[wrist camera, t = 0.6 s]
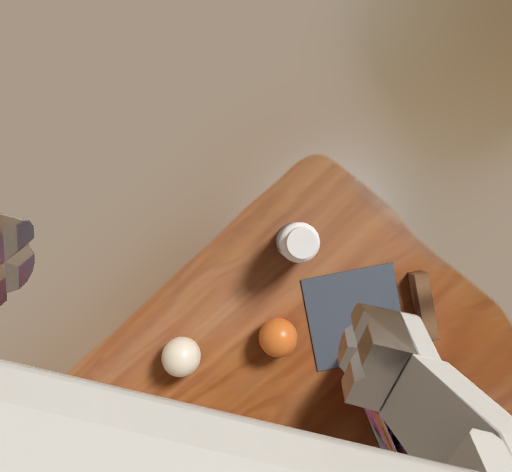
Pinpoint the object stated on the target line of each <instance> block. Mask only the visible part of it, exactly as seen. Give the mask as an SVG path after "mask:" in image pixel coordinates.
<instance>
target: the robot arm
mask: <svg viewBox="0 0 512 472" xmlns="http://www.w3.org/2000/svg"><path fill="white" fill-rule="evenodd" d="M33 238H34V228H33V225H32V223H31V222H30V221H29V220H25V219H21V218H18V217H13V216H10V215H7V214H3V213H0V306H1V305H2V304H3V303H4V302H5V301H6V300H7V293H8V292H12V291H15V290H18V289H20V288H21V287H22V286H23V285H24V284H25V283H26V282H27V281H28V279H29V277H30V275H31V273H32V271H33V267H34V252H33V251H32V249H31V248H30V247H29V245H28V243H29V242H30V241H31V240H32V239H33ZM351 320H352V325H351V326H349V327H347V328H346V329H344V332H343V334H342V337H341V339H340V344H339V349H338V362H339V367H340V368H341V369H342V370H343V372H344V375H343V377H342V380H341V382H342V389H343V395H344V401H345V403H348V404H351V405H355V406H359V407H362V408H366V409H370V410H374V411H377V412H380V415H381V417H382V418H383V419H384V421H385V422H386V424H387V425H388V426H389V428H390V429H391V431H392V432H393V433H394V435H395V436H396V438H397V439H398V441H399V442H400V443H401V445H402V446H403V448H404V449H405V450H406V452H407V453H408V455H407V454H403V453H398V452H394V451H390V450H386V449H381V448H377V447H373V446H369V445H364V444H360V443H356V442H352V441H347V440H343V439H339V438H334V437H330V436H326V435H322V434H317V433H313V432H309V431H305V430H300V429H296V428H292V427H288V426H283V425H279V424H275V423H271V422H266V421H262V420H258V419H254V418H249V417H245V416H241V415H236V414H232V413H228V412H224V411H219V410H215V409H211V408H207V407H202V406H198V405H194V404H190V403H185V402H181V401H177V400H173V399H168V398H164V397H160V396H156V395H151V394H147V393H143V392H138V391H134V390H130V389H126V388H121V387H117V386H113V385H109V384H105V383H100V382H96V381H92V380H88V379H84V378H79V377H75V376H71V375H67V374H62V373H58V372H54V371H49V370H45V369H41V368H37V367H33V366H28V365H24V364H19V363H15V362H11V361H7V360H3V359H0V472H512V416H511V415H510V414H509V413H508V412H506V411H505V410H504V409H503V408H502V407H500V406H499V405H498V404H497V403H496V402H494V401H493V400H492V399H491V398H490V397H489V396H487V395H486V394H485V393H484V392H483V391H481V390H480V389H479V388H478V387H477V386H475V385H474V384H473V383H472V382H471V381H469V380H468V379H467V378H466V377H465V376H463V375H462V374H461V373H460V372H459V371H458V370H456V369H455V368H454V367H453V366H452V365H450V364H449V363H448V362H444V361H441V359H440V357H439V355H438V352H437V350H436V348H435V346H434V344H433V342H432V340H431V338H430V336H429V334H428V332H427V330H426V328H425V326H424V324H423V322H422V320H421V318H420V317H419V316H417V315H414V314H409V313H405V312H400V311H395V310H390V309H386V308H381V307H377V306H372V305H368V304H363V303H357V304H356V306H355V307H354V309H353V311H352V313H351Z"/></svg>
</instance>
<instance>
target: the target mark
mask: <svg viewBox="0 0 512 472" xmlns="http://www.w3.org/2000/svg"><path fill="white" fill-rule="evenodd" d="M301 285H302V290H303V295H304V301H305V306H306V311H307V317H308V322H309V327H310V333H311V338H312V343H313V349H314V354H315V360H316V365H317V370H318V371H323V370H328V369H333V368H338V367H339V362H338V349H339V344H340V339H341V337H342V334H343V332H344V329H346V328H347V327H349V326H351V325H352V320H351V313H352V311H353V309H354V307H355V306H356V304H357V303H363V304H368V305H372V306H377V307H381V308H386V309H390V310H395V311H400V312H401V308H400V302H399V296H398V291H397V285H396V280H395V274H394V268H393V263H392V262H391V263H386V264H381V265H376V266H371V267H366V268H361V269H355V270H350V271H345V272H340V273H335V274H330V275H324V276H319V277H314V278H309V279H304V280H301Z"/></svg>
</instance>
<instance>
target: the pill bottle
mask: <svg viewBox="0 0 512 472" xmlns="http://www.w3.org/2000/svg"><path fill="white" fill-rule="evenodd" d="M276 246H277V249H278V251H279V252H280V253H281V254H282V255H283V256H284V257H285V258H287V259H288V260H290V261H292V262H295V263H304V262H307V261H309V260H311V259H312V258H313V257H314V256H315V255H316V254H317V252H318V250H319V246H320V240H319V236H318V233H317V232H316V230H315V229H314V228H313V227H312V226H310V225H309V224H306V223H302V222H296V223H290V224H287V225H285V226H283V227H282V228H281V229H280V230H279V232H278V233H277V236H276Z"/></svg>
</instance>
